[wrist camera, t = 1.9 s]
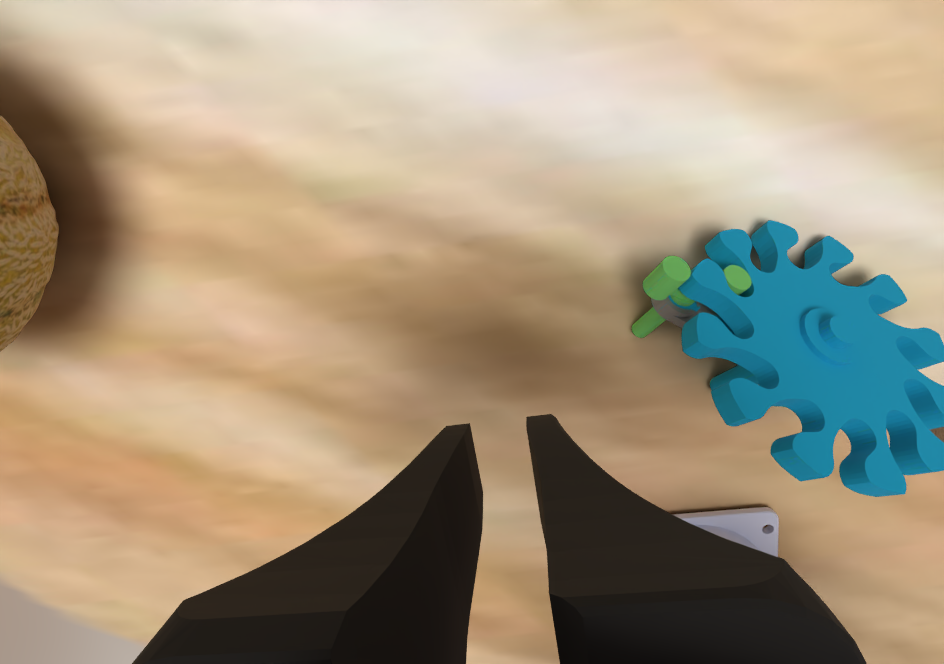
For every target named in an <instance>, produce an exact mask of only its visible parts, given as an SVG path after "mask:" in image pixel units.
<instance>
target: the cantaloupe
mask: <svg viewBox="0 0 944 664" xmlns="http://www.w3.org/2000/svg"><path fill="white" fill-rule="evenodd" d="M58 234H59V226H58V223H57V221H56V217H55V209H54V208H53V206H52V204H51V202H50V198H49V194H48V191H47V187H46V182H45V179H44V177H43V175H42V173H41V171H40V169H39V167H38V165H37V163H36V161H35V159H34V158H33V157H32V155H31V154H30V153H29V151H28V149H27V148H26V146H25V144H24V143H23V141H22V140H21V139H20V138H19V136H18V135H17V134H16V133H15V132H14V130H13V128H12V127H11V125H10V124H9V123H8V122H7V121H6V120H5V119H4V118H3V117H2V116H0V351H1V350H3V349H4V348H5V347H6V346H7V345H8V344H10V343H12V342H13V341H14V340H15V338H16V337H17V336H18V335H19V333H20V332H21V330H22V328H23V327H24V326H25V325H26V324H27V322H28V321H29V320H30V319H31V317H32V316H33V314H34V313H35V312H36V310H37V308H38V305H39V303H40V301H41V298H42V296H43V293H44V290H45V286H46V284H47V283H48V282H49V281H50V278H51V275H52V271H53V268H54V261H55V253H56V248H57V238H58Z"/></svg>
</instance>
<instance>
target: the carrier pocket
mask: <svg viewBox="0 0 944 664" xmlns="http://www.w3.org/2000/svg"><path fill="white" fill-rule="evenodd" d="M929 430H930V431H931V432H932V433H933V434H934V435H935V436H936V437H938V438H939V439H940V440H941V441H943V442H944V427H940V428H935V429H929Z"/></svg>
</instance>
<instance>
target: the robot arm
mask: <svg viewBox="0 0 944 664" xmlns="http://www.w3.org/2000/svg"><path fill="white" fill-rule="evenodd" d="M526 422H527V433H528V440H529V446H530V453H531V459H532V466H533V472H534V479H535V486H536V492H537V499H538V505H539V512H540V518H541V524H542V529H543V534H544V538H545V543H546V548H547V560H548V578H549V595H550V601H551V608H552V614H553V621H554V627H555V634H556V640H557V646H558V653H559V659H560V664H866V661H865V660H864V658H863V656H862V654H861V652H860V650H859V648H858V646H857V644H856V642H855V641H854V639H853V638H852V637H851V636H850V634H849V633H848V632H847V630H846V629H845V628H844V627H843V625H842V624H841V623H840V622H839V620H838V619H837V618H836V616H835V615H834V614H833V613H832V611H831V610H830V609H829V608H828V607H827V605H826V604H825V603H824V602H823V601H822V600H821V599H820V597H819V596H818V595H817V594H816V593H815V592H814V591H813V589H812V588H811V587H810V586H809V585H808V584H807V583H806V582H805V581H804V580H803V579H802V578H801V577H800V576H799V575H798V574H797V573H796V572H795V571H794V570H793V569H792V568H791V566H790V565H789V564H788V563H787V562H786V561H785V560H784V559H782V558H779V557H778V531H779V518H778V515H777V514H776V513H775V512H774V511H773V509H771V508H769V507H758V508H746V509H734V510H722V511H710V512H697V513H685V514H673V515H672V514H670V513H668V512H666V511H664V510H663V509H661V508H659V507H657V506H656V505H654V504H652V503H650V502H648V501H647V500H645V499H643V498H642V497H640V496H638V495H637V494H635V493H634V492H632V491H631V490H629V489H628V488H626V487H625V486H623V485H622V484H621V483H619V482H618V481H617V480H615V479H614V478H613V477H611V476H610V475H609V474H608V473H607V472H605V471H604V470H603V469H602V468H601V467H600V466H598V465H597V464H596V463H595V462H594V461H593V460H592V459H591V458H590V457H589V456H588V455H587V454H586V453H585V452H584V451H583V450H582V449H581V448H580V447H579V446H578V445H577V444H576V443H575V442H574V441H573V440H572V439H571V437H570V436H569V435H568V434H567V433H566V431H565V430H564V429H563V428H562V426H561V425H560V424H559V422H558V420H557V419H556V417H554V416H553V415H552V414H547V415H539V416H530V417H527V421H526ZM482 521H483V490H482V484H481V479H480V474H479V469H478V464H477V458H476V453H475V448H474V443H473V438H472V432H471V427H470V423H469V424H460V425H452V426H446V427H445V428H444V429H443V430H442V431H441V432H440V433H439V434H438V435H437V436H436V437H435V438H434V439H433V440H432V441H431V442H430V443H429V444H428V445H427V446H426V448H425V449H424V450H423V451H422V452H421V453H420V454H419V455H418V456H417V457H416V458H415V459H414V460H413V461H412V462H411V463H410V464H409V465H408V466H407V467H406V468H405V469H404V470H402V471H401V472H400V473H399V474H398V475H397V476H396V477H395V478H394V479H393V480H392V481H390V482H389V483H388V484H387V485H386V486H385V487H384V488H383V489H382V490H380V491H379V492H378V493H377V494H376V495H374V496H373V497H372V498H371V499H369V500H368V501H367V502H366V503H364V504H363V505H361V506H360V507H359V508H357V509H356V510H355V511H353V512H352V513H351V514H349V515H348V516H346V517H345V518H344V519H342V520H340V521H339V522H337V523H336V524H334V525H333V526H331V527H329V528H328V529H326V530H325V531H323V532H322V533H320V534H318V535H317V536H315V537H314V538H312V539H311V540H309V541H307V542H306V543H304V544H302V545H300V546H298V547H297V548H295V549H293V550H291V551H289V552H288V553H286V554H284V555H282V556H280V557H278V558H276V559H274V560H272V561H270V562H268V563H266V564H265V565H263V566H261V567H259V568H256V569H254V570H252V571H250V572H248V573H246V574H244V575H242V576H239V577H237V578H235V579H232V580H230V581H228V582H226V583H223V584H221V585H219V586H216V587H214V588H212V589H210V590H207V591H205V592H203V593H200V594H198V595H196V596H193V597H191V598H188V599H186V600H184V601H183V602H182V603H181V604H180V605H179V607H178V608H177V609H176V610H175V612H174V613H173V614H172V615H171V616H170V618H169V619H168V620H167V621H166V623H165V624H164V625H163V626H162V628H161V629H160V630H159V631H158V632H157V634H156V635H155V636H154V637H153V639H152V640H151V641H150V642H149V643H148V645H147V646H146V647H145V648H144V650H143V651H142V652H141V653H140V654H139V656H138V657H137V658H136V659H135V661H134V662H133V663H132V664H466V652H467V635H468V626H469V616H470V610H471V603H472V596H473V589H474V583H475V576H476V569H477V563H478V556H479V549H480V542H481V534H482ZM765 525H768V526H767V527H765V528H763V527H764V526H765Z"/></svg>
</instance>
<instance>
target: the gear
mask: <svg viewBox="0 0 944 664" xmlns="http://www.w3.org/2000/svg"><path fill="white" fill-rule="evenodd" d="M797 242H798V234H797V232H796V230H795V229H793V228H792V227H790V226H787V225H785V224H782V223H779V222H775V221H771V220H769V221H768V222H766V223H765V224H764V225H763V226H762V227H760V228H759V229H758V230H757V231H756V232H755V233H753V235H752V237H751V239H750V237H749V236H748V234H747V233H746V232H745V231H743V230H739V229H731V230H726V231H722V232H719V233H718V234H717V235H716V236H715V237H714V238H713V239H712V240H711V241H710V242H708V243H707V244H706V245H705V250H706V253H707V255H708V256H709V257H710V258H711V260H710V259H708V258H707V259H704V260H702V261H701V262H700V263H699V264H698V265H696V266H695V267H694V268H693V269H692V270H690V267H689V265H688V264H687V263H686V262H685V261H684V260H683V259H681V258H679V257H677V256H668V257H666V258H665V259H664V260H663V261H662V262H661V263H660V264H659V265H658V266H657V267H656V268H655V269H654V270H653V271H652V272H651V273H650V274H649V275H648V276H647V277H646V278H645V279H644V281H643V289H644V291H645V293H646V294H647V295H648V296H649V297H651V301H652V305H653V307H652V308H651V309H650V310H649V311H648V312H647V313H645V314H644V315H643V316H642V317H641V318H640V319H639V320H638V321H636V322H635V323H634V324H633V325H632V332H633V334H634V335H635V336H637V337H639V338H644V337H645V336H647V335H648V334H649V333H651V332H652V331H653V330H654V329H656V328H657V327H658V326H659V325H661V324H662V323H663V322H664V321H666V320H667V321H669V322H671V323H673V324H675V325H676V326H678V327H680V328H682V349H683V352H684V353H686V354H687V355H689V356H690V357H693V358H696V359H702V358H706V357H717V358H723V359H726V360H729V361H732V362H734V363H736V364H738V365H737V366H735V367H733V368H731V369H730V370H728V371H726V372H724V373H722V374H720V375H718V376H716V377H714V378H712V379H711V381H710V388H711V390H712V391H711V394H712V398H713V401H714V403H715V406H716V408H717V410H718V411H719V413H720V415H721V417H722V418H723V420H724V421H725V423H726V424H727V425H729V426H739V425H742V424H745V423H748V422H751V421H754V420H757V419H760V418H761V417H763V416H764V414H765V413H766V411H767V410H768V409H769V408H770V407H771V406H782V407H787V408H789V409H791V410H792V411H793V412H795V413H796V415H797V416H798V417H799V419H800V421H801V424H802V432H801V433H797V434H794V435H790V436H786V437H783V438H779V439H777V440H775V441H774V442H773V444H772V446H771V455H772V456H773V458H774V459H775V460H776V461H777V462H778V463H779V464H780V466H781V467H782V468H784V469H785V470H786V471H787V472H788V473H790V474H791V475H792V476H794V477H795V478H797V479H798V480H799V481H805V480H812V479H818V478H825V477H827V476H829V475H830V474H831V473H832V471H833V469H834V459H833V443H834V439H835V436H836V434H837V432H838V430H839V429H841V430H843V431H844V432H845V433H846V435H847V436H848V438H849V440H850V442H851V452H850V454H849V455H848V456H847V457H846V458H845V459H844V460H843V461H842V463H841V464H840V470H839V472H840V477H841V480H842V482H843V484H844V486H846V487H847V488H849V489H851V490H853V491H855V492H857V493H860V494H864V495H869V496H875V497H879V496H889V495H900V494H905V492H906V482H905V478H904V476H903V475H915V474H923V473H930V472H938V471H943V470H944V442H943V441H941V440H940V439H939V438H938V437H936V436H935V435H934V434H933V433H932V432H931V431H930V430H929V429H935V428H940V427H944V386H942V385H940V384H938V383H936V382H934V381H932V380H931V379H929V378H927V377H926V376H924V375H923V374H922V373H921V372H919V371H918V370H917V369H922V368H925V367H928V366H931V365H934V364H937V363H940V362H944V345H943V342H942V340H941V337H940V335H939V334H938V333H937V332H935V331H933V330H931V329H929V328H919V329H910V328H904V327H901V326H898V325H896V324H894V323H892V322H890V321H888V320H886V319H884V318H882V317H880V316H879V315H877V314H882V313H885V312H887V311H889V310H891V309H893V308H895V307H897V306H900V305H902V304H904V303H905V302H906V301H907V299H906V297H905V295H904V293H903V292H902V290H901V289H900V287H899V286H898V285H897V284H896V282H895V281H894V280H893V279H892V278H891V277H890V276H889V275H885V274H881V275H878V276H876V277H874V278H873V279H871V280H869V281H867V282H865V283H863V284H862V285H860V286H858V287H855V286H846V285H842V284H840V283H839V282H837V281H836V280H835V279H834V278H833V277H832V275H831V274H832V273H834V272H836V271H837V270H839V269H841V268H842V267H844V266H846V265H847V264H849V263H850V262H852V260H853V254H852V252H851V251H850V250H849V249H847V248H846V247H845V246H844V245H842V244H841V243H840V242H838V241H837V240H835V239H834V238H832V237H830V236H826V237H825V238H823V239H822V240H820V241H819V242H817V243H816V244H815V245H813V246H812V247H810V248H809V249H807V250H806V251H805V254H804V257H805V266H804V269H801V268H798V267H797V266H795V265H794V264H793V263H792V262H791V261H790V260H789V258H788V256H787V250H788V249H789V248H791V247H792V246H794V245H795V244H796V243H797ZM752 244H753V246H754V248H755V249H756V251H757V253H758V256H759V259H760V263H761V271H760V270H759V269H757V268H756V267H755V266H754V265H753V263H752V262H751V259H750V253H751V249H752ZM712 260H713V261H712ZM758 384H759V385H758ZM886 429H887V430H888V432H889V435H890V448H889V445H888V440H887V435H886Z"/></svg>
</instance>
